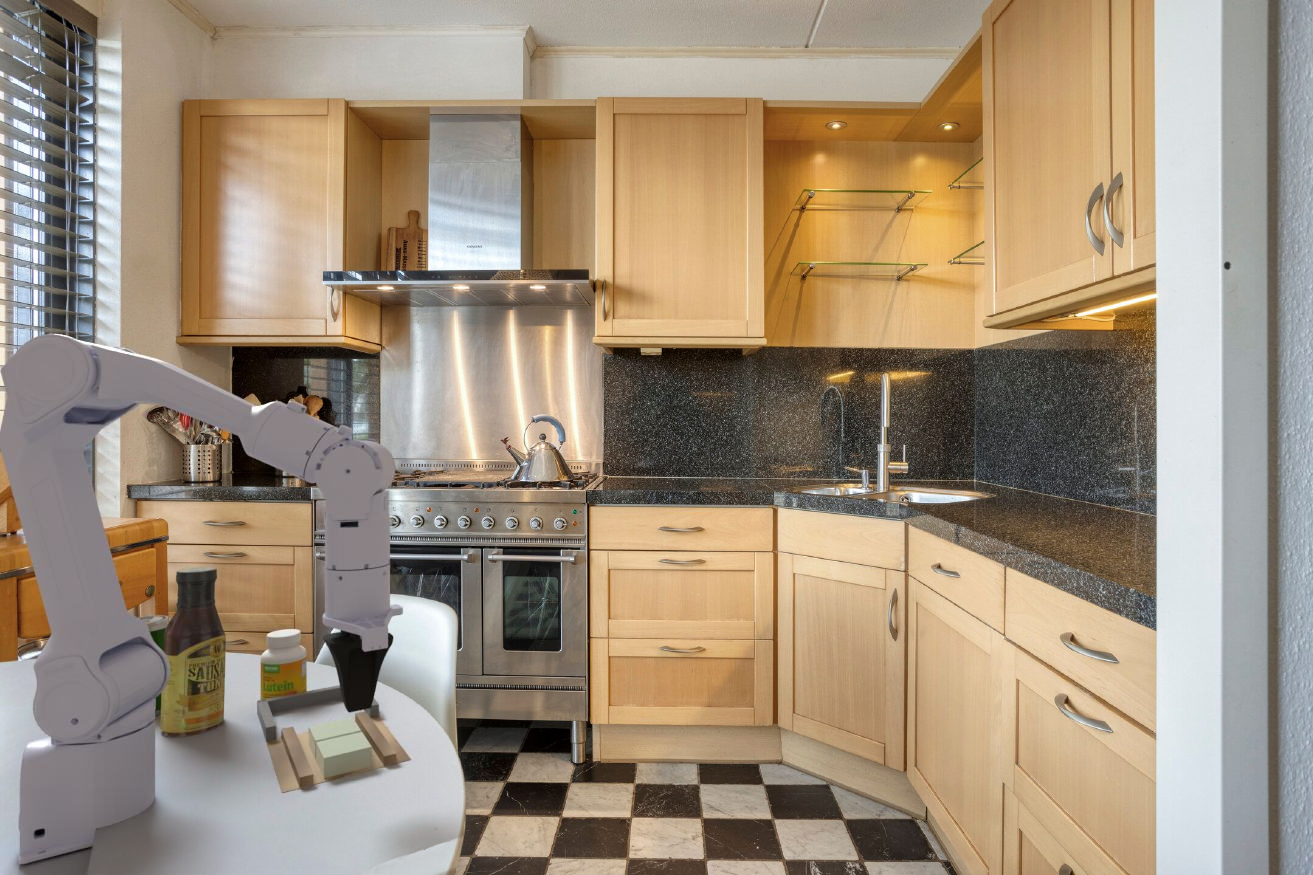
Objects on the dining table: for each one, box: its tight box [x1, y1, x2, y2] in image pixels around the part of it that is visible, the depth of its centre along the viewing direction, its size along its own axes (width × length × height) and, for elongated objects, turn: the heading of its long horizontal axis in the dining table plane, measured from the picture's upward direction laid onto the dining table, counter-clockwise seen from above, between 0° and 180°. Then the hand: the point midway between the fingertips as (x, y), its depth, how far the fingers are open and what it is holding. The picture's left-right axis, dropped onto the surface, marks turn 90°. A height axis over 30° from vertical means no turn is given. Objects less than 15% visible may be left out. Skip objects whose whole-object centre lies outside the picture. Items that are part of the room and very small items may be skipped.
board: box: [265, 710, 412, 794], centre depth 75 cm, size 12×14×2 cm
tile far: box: [308, 716, 361, 760], centre depth 76 cm, size 4×4×2 cm
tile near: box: [316, 732, 372, 778], centre depth 72 cm, size 4×4×2 cm
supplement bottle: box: [259, 628, 308, 700], centre depth 92 cm, size 5×5×10 cm
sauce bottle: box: [159, 566, 227, 738], centre depth 82 cm, size 7×6×20 cm
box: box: [256, 684, 380, 742], centre depth 85 cm, size 12×10×3 cm
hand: (358, 708), depth 66 cm, fingers closed
